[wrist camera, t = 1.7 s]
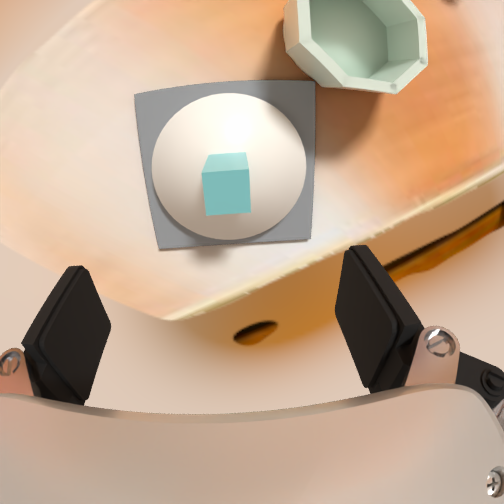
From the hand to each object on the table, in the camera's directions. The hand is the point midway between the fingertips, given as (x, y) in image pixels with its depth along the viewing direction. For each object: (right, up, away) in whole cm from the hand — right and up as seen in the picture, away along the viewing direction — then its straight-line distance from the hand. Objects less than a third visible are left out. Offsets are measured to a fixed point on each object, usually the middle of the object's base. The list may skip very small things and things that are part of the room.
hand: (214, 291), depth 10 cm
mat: (-1, +9, +14) cm, 17 cm away
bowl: (+9, +20, +8) cm, 23 cm away
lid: (-1, +9, +14) cm, 16 cm away
